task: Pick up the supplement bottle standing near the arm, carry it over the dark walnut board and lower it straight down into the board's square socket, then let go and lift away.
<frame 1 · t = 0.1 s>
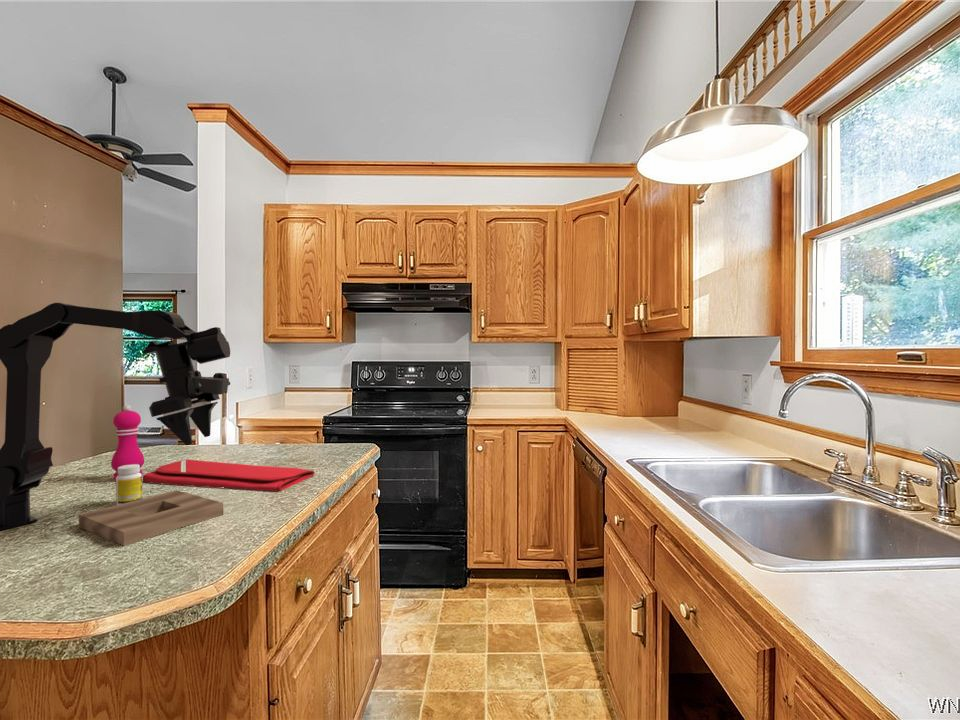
hand: (198, 440, 98), 15 cm above the countertop, tool pointing down, fingers open, 9 cm apart
supplement bottle: (129, 504, 105), on the countertop
socket board: (153, 520, 94), on the countertop
red folded cloth: (230, 481, 124), on the countertop
pepper mill: (128, 479, 125), on the countertop
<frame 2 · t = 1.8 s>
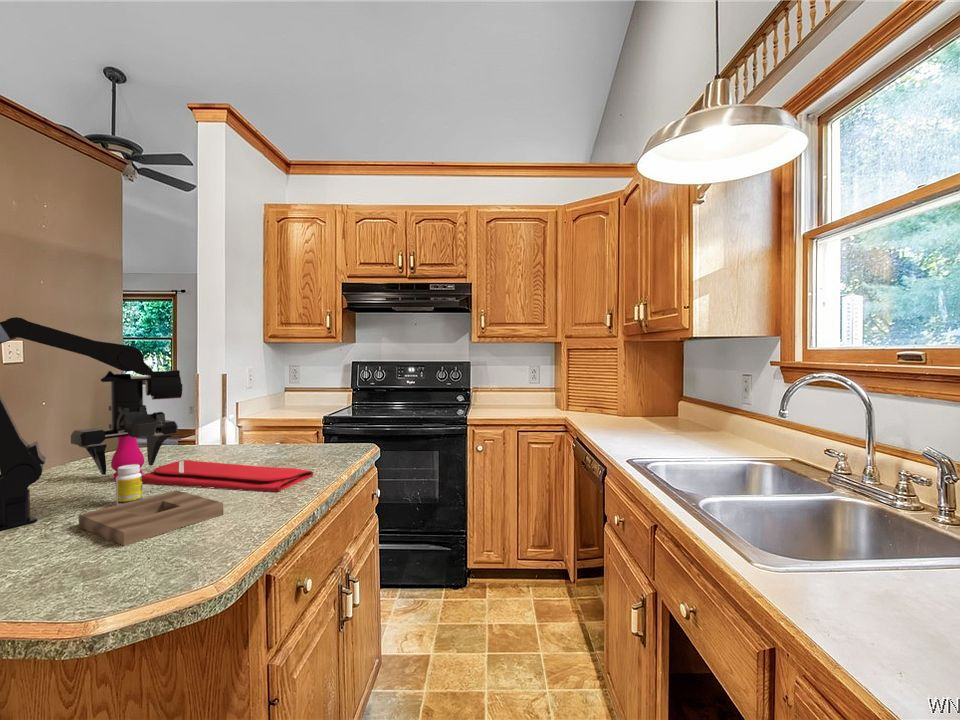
hand: (128, 469, 104), 8 cm above the countertop, tool pointing down, fingers open, 9 cm apart
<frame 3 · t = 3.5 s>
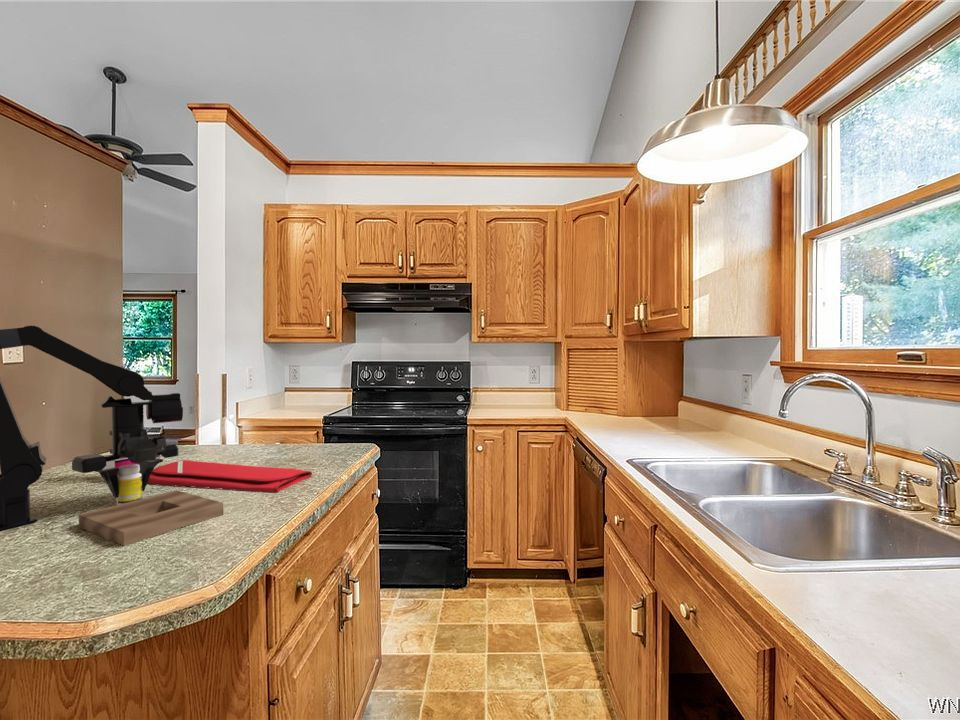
hand: (129, 494, 105), 2 cm above the countertop, tool pointing down, fingers closed on supplement bottle, 5 cm apart
supplement bottle: (129, 504, 105), on the countertop, touching gripper
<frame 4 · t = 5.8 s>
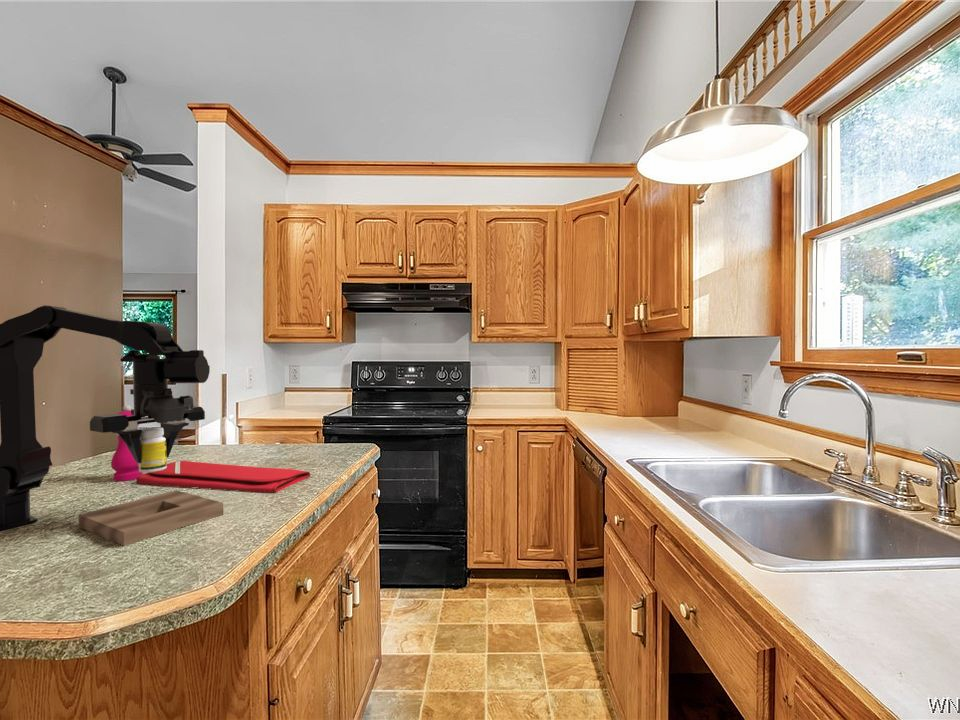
hand: (152, 460, 94), 12 cm above the countertop, tool pointing down, fingers closed on supplement bottle, 5 cm apart
supplement bottle: (153, 471, 94), point 10 cm above the countertop, touching gripper
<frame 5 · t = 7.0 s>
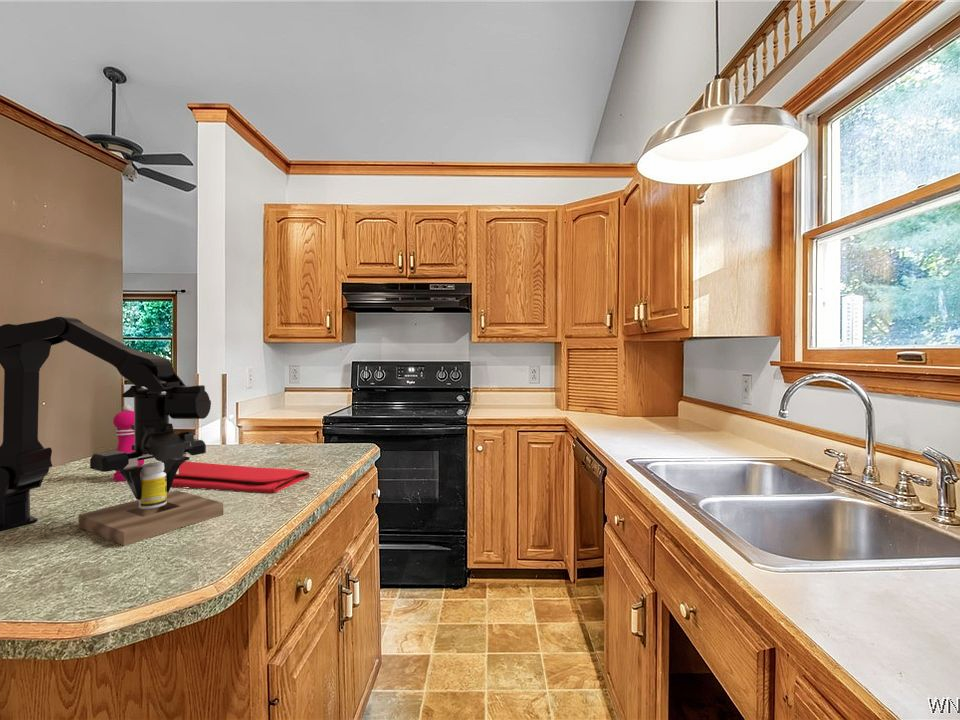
hand: (152, 495, 94), 5 cm above the countertop, tool pointing down, fingers closed on supplement bottle, 5 cm apart
supplement bottle: (152, 506, 94), point 3 cm above the countertop, touching gripper
when the fingers open (3 cm above the countertop, at t = 8.1 s): supplement bottle drops 1 cm, resting in socket board.
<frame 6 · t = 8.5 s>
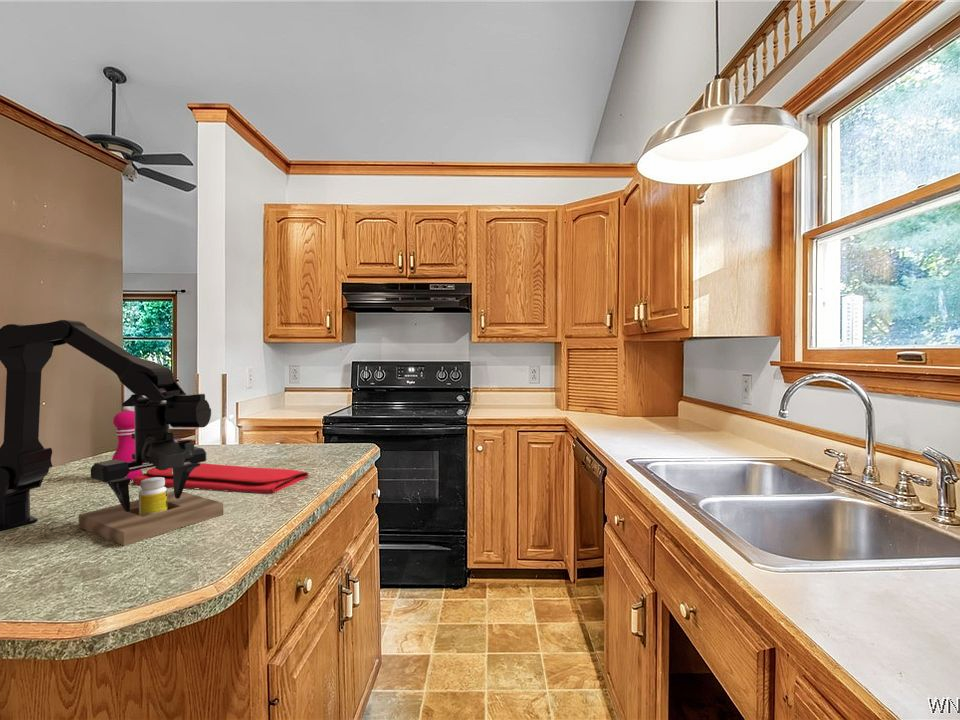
hand: (153, 504, 94), 3 cm above the countertop, tool pointing down, fingers open, 9 cm apart
supplement bottle: (153, 521, 94), resting in socket board
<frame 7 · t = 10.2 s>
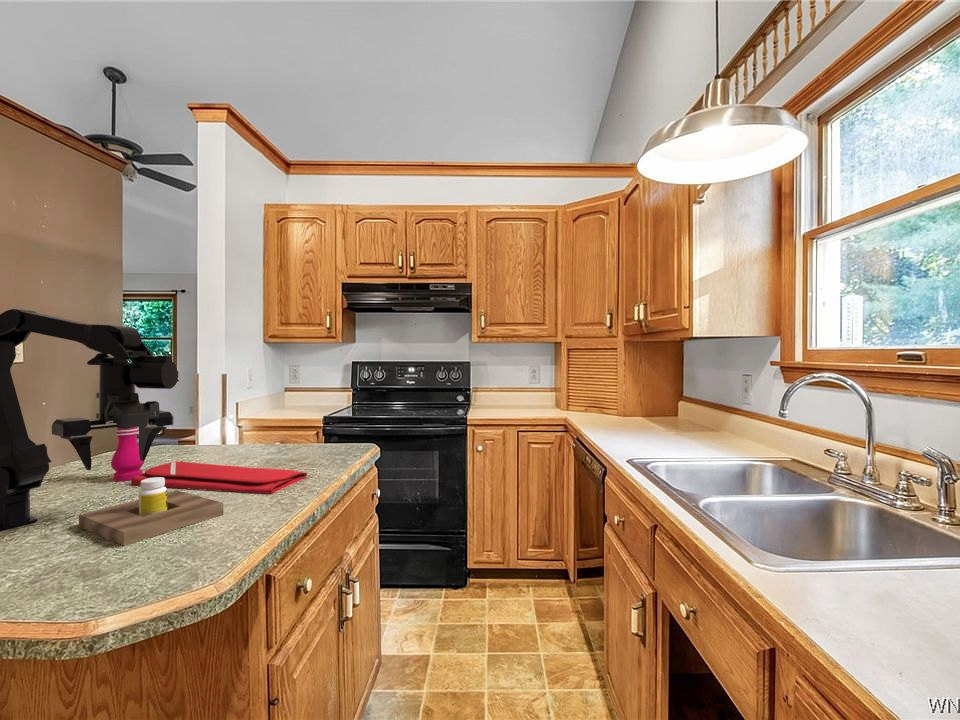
hand: (116, 465, 93), 11 cm above the countertop, tool pointing down, fingers open, 9 cm apart
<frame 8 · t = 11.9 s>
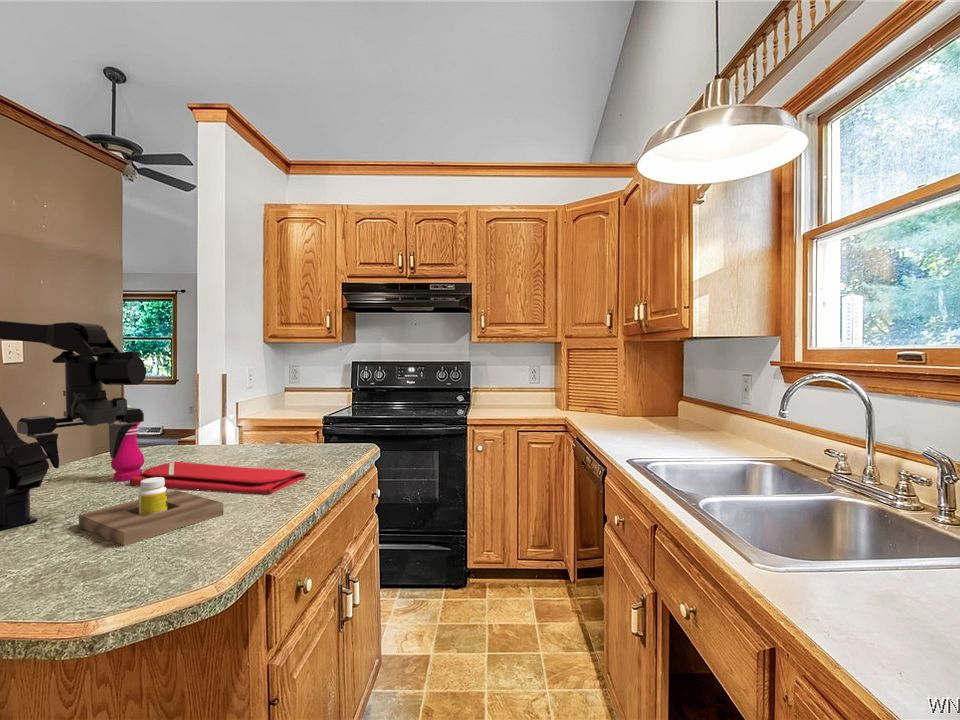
hand: (85, 462, 93), 12 cm above the countertop, tool pointing down, fingers open, 9 cm apart
at the end: supplement bottle 0.1 cm off-centre on the socket board, point 0.0 cm above the socket board's base; supplement bottle tilted 0°; the gripper is holding nothing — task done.
